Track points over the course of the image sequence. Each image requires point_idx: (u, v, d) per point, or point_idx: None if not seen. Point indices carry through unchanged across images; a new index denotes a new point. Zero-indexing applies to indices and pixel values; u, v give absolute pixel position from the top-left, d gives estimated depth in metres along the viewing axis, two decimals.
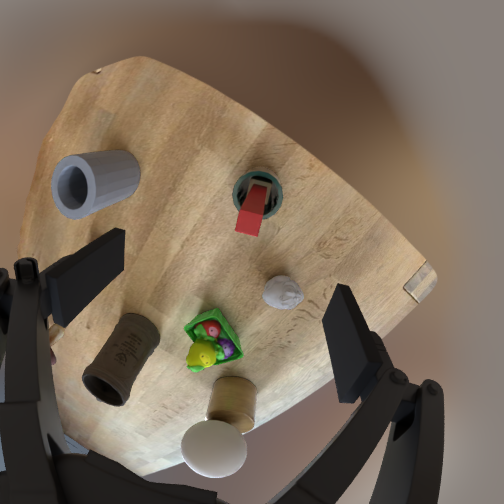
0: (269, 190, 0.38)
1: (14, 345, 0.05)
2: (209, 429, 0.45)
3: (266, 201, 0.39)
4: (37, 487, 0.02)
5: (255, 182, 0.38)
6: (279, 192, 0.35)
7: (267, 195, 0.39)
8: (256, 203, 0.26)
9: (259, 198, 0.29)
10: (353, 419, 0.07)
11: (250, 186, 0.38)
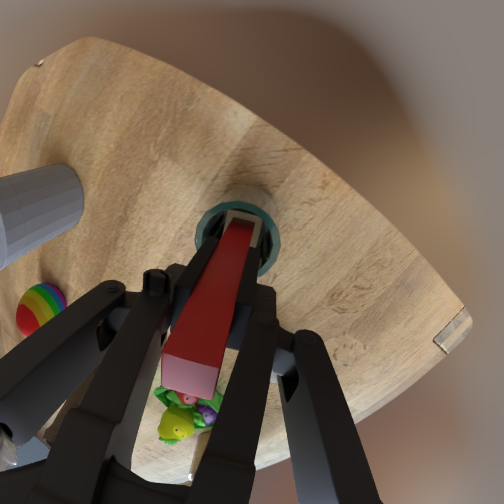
0: (258, 228, 0.24)
1: (115, 356, 0.07)
2: None
3: (254, 245, 0.25)
4: (37, 487, 0.02)
5: (236, 214, 0.24)
6: (274, 238, 0.21)
7: (255, 236, 0.24)
8: (217, 299, 0.12)
9: (230, 272, 0.14)
10: (233, 372, 0.08)
11: (227, 221, 0.24)
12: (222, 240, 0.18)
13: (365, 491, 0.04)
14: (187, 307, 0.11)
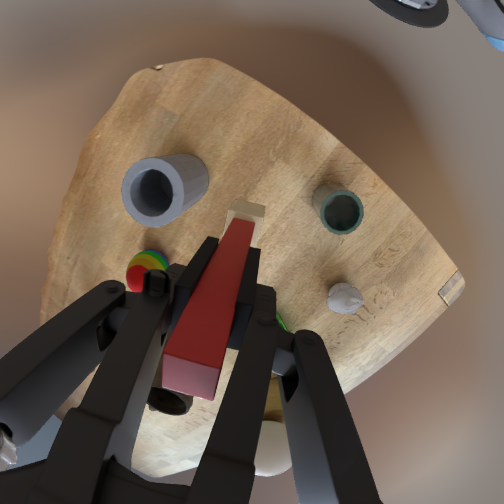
0: (259, 228, 0.24)
1: (115, 356, 0.07)
2: (268, 429, 0.47)
3: (254, 245, 0.25)
4: (37, 487, 0.02)
5: (236, 215, 0.24)
6: (361, 211, 0.37)
7: (255, 236, 0.24)
8: (218, 300, 0.12)
9: (231, 272, 0.14)
10: (233, 372, 0.08)
11: (228, 222, 0.24)
12: (222, 240, 0.18)
13: (365, 491, 0.04)
14: (188, 308, 0.11)
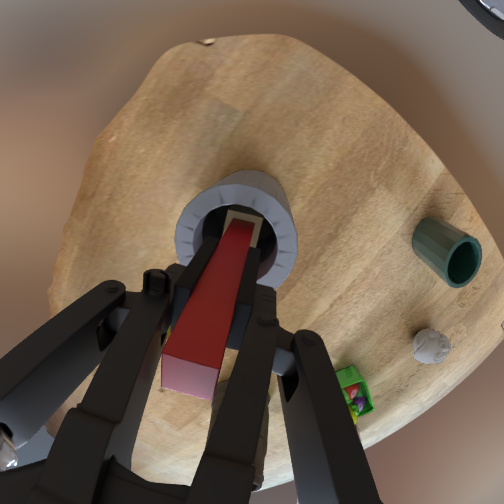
0: (258, 228, 0.24)
1: (115, 356, 0.07)
2: None
3: (254, 245, 0.25)
4: (37, 487, 0.02)
5: (236, 215, 0.24)
6: (479, 259, 0.24)
7: (255, 236, 0.24)
8: (217, 300, 0.12)
9: (230, 272, 0.14)
10: (233, 372, 0.08)
11: (227, 222, 0.24)
12: (222, 241, 0.18)
13: (365, 491, 0.04)
14: (187, 308, 0.11)
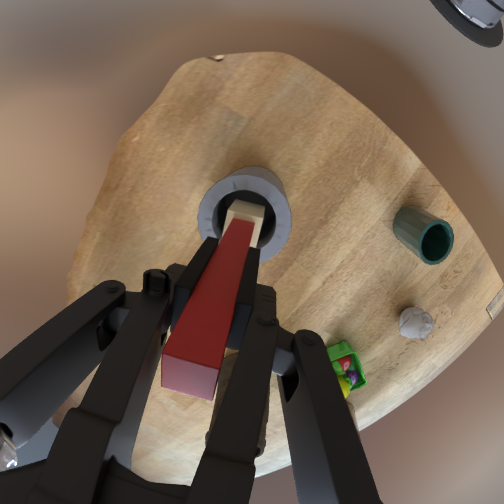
0: (258, 228, 0.24)
1: (115, 356, 0.07)
2: None
3: (253, 246, 0.25)
4: (37, 487, 0.02)
5: (236, 215, 0.24)
6: (451, 240, 0.31)
7: (255, 236, 0.24)
8: (217, 300, 0.12)
9: (230, 272, 0.14)
10: (233, 372, 0.08)
11: (227, 222, 0.24)
12: (222, 241, 0.18)
13: (365, 491, 0.04)
14: (187, 308, 0.11)
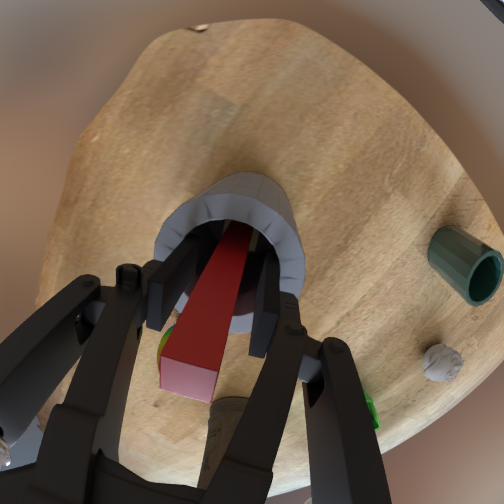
0: None
1: (94, 350, 0.07)
2: None
3: (253, 246, 0.25)
4: (37, 487, 0.02)
5: None
6: (501, 274, 0.20)
7: (255, 237, 0.24)
8: (216, 302, 0.12)
9: (229, 274, 0.14)
10: (259, 379, 0.08)
11: (227, 222, 0.24)
12: (221, 242, 0.18)
13: (379, 497, 0.04)
14: (186, 310, 0.10)
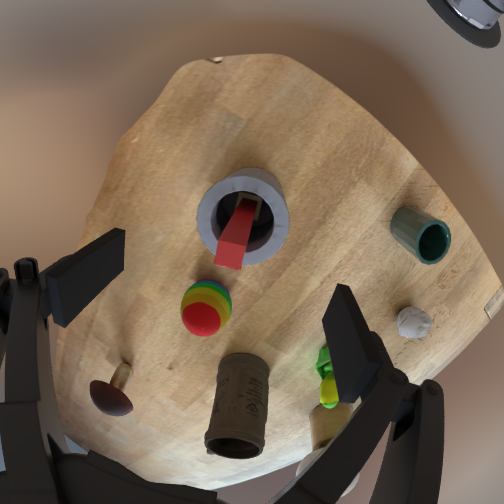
0: (260, 205, 0.35)
1: (14, 345, 0.05)
2: None
3: (256, 217, 0.36)
4: (37, 487, 0.02)
5: (245, 195, 0.35)
6: (448, 240, 0.31)
7: (257, 210, 0.35)
8: (240, 227, 0.23)
9: (245, 219, 0.25)
10: (353, 419, 0.07)
11: (239, 200, 0.35)
12: (238, 207, 0.29)
13: None
14: (226, 228, 0.21)
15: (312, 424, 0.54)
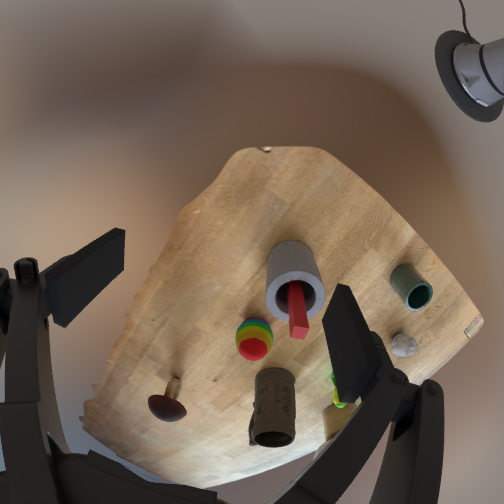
0: None
1: (14, 345, 0.05)
2: None
3: None
4: (37, 487, 0.02)
5: None
6: (430, 294, 0.45)
7: None
8: (301, 310, 0.37)
9: (300, 300, 0.40)
10: (353, 419, 0.07)
11: None
12: (291, 285, 0.43)
13: None
14: (294, 313, 0.36)
15: (325, 420, 0.69)
